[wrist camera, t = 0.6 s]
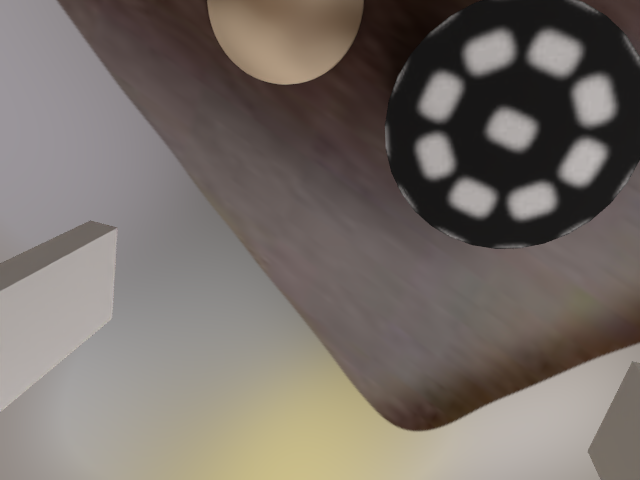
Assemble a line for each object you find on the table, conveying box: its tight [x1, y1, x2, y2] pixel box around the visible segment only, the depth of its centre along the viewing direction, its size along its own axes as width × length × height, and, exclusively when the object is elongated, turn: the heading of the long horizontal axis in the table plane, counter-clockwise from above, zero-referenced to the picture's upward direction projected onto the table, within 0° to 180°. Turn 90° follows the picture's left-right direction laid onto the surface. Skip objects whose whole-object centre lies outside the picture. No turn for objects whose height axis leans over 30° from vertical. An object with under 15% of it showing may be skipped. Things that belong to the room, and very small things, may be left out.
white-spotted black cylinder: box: [385, 0, 640, 249], centre depth 26 cm, size 8×8×20 cm
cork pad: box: [207, 0, 364, 85], centre depth 35 cm, size 11×11×1 cm
